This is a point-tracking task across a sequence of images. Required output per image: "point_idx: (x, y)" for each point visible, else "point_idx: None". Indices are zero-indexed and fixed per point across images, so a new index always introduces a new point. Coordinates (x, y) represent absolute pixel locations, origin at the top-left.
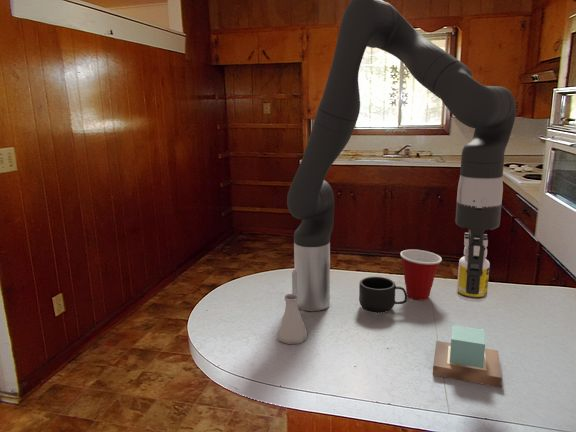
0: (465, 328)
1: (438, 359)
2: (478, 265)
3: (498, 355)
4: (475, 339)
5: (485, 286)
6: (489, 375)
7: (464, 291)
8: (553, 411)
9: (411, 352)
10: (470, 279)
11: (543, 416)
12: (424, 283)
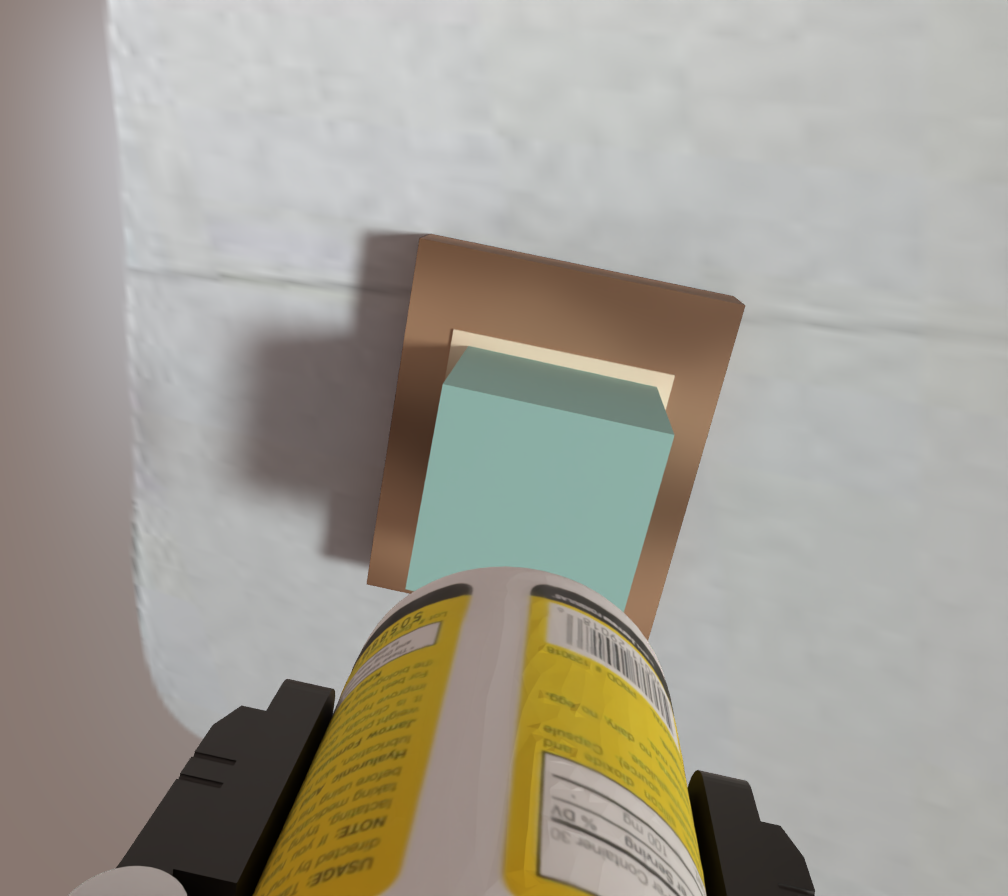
0: (625, 518)
1: (497, 282)
2: None
3: None
4: (462, 546)
5: None
6: (376, 532)
7: (364, 665)
8: (251, 706)
9: (680, 123)
10: (136, 850)
11: (207, 659)
12: None
